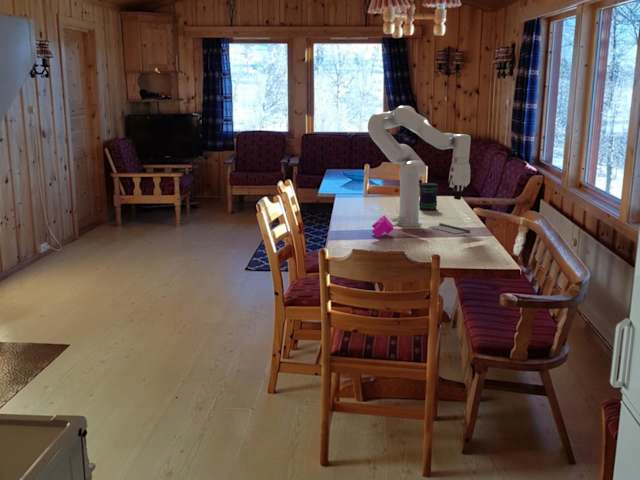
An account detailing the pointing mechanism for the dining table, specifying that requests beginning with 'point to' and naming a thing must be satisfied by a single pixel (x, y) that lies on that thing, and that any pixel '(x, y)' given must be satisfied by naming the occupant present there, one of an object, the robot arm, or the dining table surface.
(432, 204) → the storage jar
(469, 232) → the stop rail
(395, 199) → the dining table surface
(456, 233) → the felt mat
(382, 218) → the toy block
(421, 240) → the dining table surface
